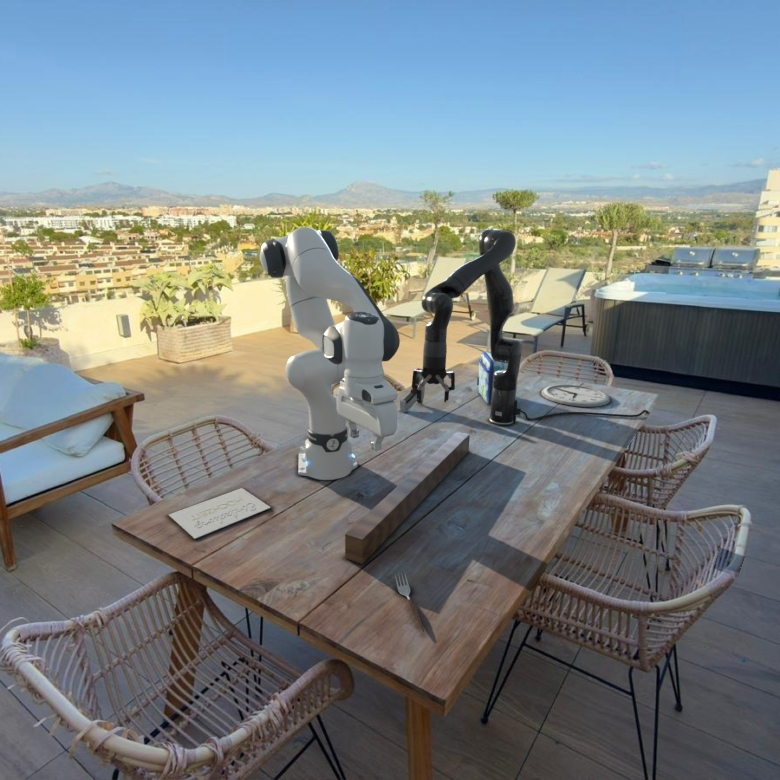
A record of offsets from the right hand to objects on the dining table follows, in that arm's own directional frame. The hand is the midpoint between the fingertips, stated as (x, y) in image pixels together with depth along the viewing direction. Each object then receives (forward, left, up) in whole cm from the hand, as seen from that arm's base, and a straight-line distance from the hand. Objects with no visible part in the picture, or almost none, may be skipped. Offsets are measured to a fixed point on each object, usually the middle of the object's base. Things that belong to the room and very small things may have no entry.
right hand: (432, 400), depth 176 cm
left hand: (+33, +48, +8) cm, 59 cm away
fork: (+29, +74, -17) cm, 81 cm away
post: (+14, +30, -17) cm, 38 cm away
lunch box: (-44, -46, -17) cm, 66 cm away
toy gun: (-6, -42, -17) cm, 46 cm away
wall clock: (-84, -42, -17) cm, 95 cm away
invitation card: (+68, +28, -17) cm, 76 cm away
